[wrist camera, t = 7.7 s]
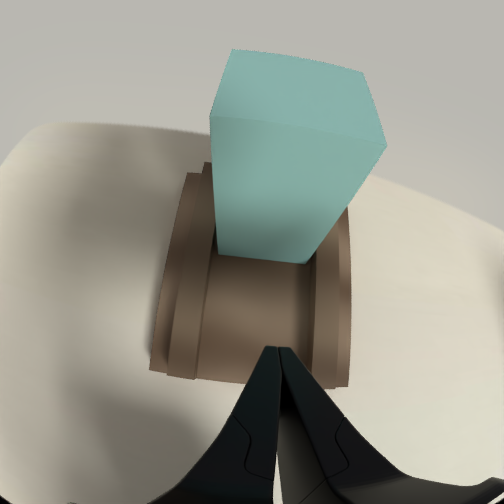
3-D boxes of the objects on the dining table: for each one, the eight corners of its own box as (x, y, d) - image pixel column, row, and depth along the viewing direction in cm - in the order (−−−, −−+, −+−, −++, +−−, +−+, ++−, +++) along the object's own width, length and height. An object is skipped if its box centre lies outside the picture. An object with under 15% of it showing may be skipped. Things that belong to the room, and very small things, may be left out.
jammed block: (305, 264, 20) (386, 146, 8) (218, 254, 19) (209, 115, 8) (306, 202, 21) (362, 72, 10) (227, 192, 21) (231, 49, 10)
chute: (339, 385, 18) (372, 390, 13) (154, 369, 17) (131, 371, 13) (340, 202, 24) (362, 167, 19) (189, 183, 23) (182, 143, 19)
